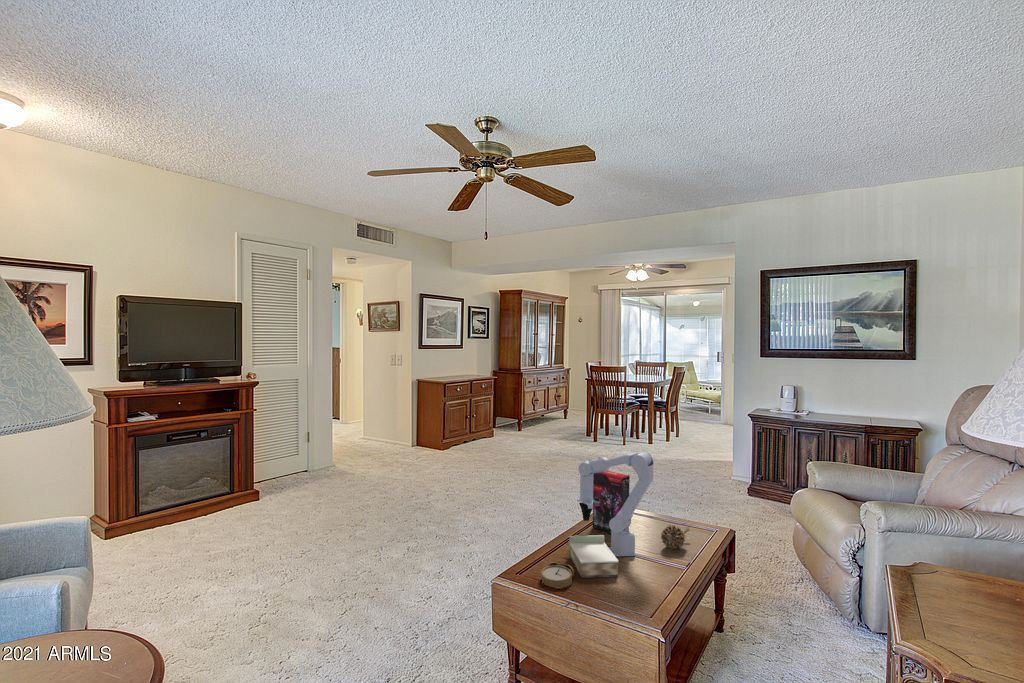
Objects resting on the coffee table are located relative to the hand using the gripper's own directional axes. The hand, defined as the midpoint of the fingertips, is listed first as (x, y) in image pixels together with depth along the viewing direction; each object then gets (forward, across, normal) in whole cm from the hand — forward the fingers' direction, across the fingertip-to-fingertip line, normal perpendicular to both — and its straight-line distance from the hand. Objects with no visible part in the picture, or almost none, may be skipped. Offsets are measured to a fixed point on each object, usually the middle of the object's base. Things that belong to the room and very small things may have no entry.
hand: (586, 520), depth 222 cm
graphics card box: (+11, -16, +16) cm, 25 cm away
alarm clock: (+11, +33, -19) cm, 39 cm away
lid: (+8, +22, -3) cm, 24 cm away
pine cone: (+11, +4, +40) cm, 41 cm away
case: (+10, +23, -3) cm, 25 cm away
